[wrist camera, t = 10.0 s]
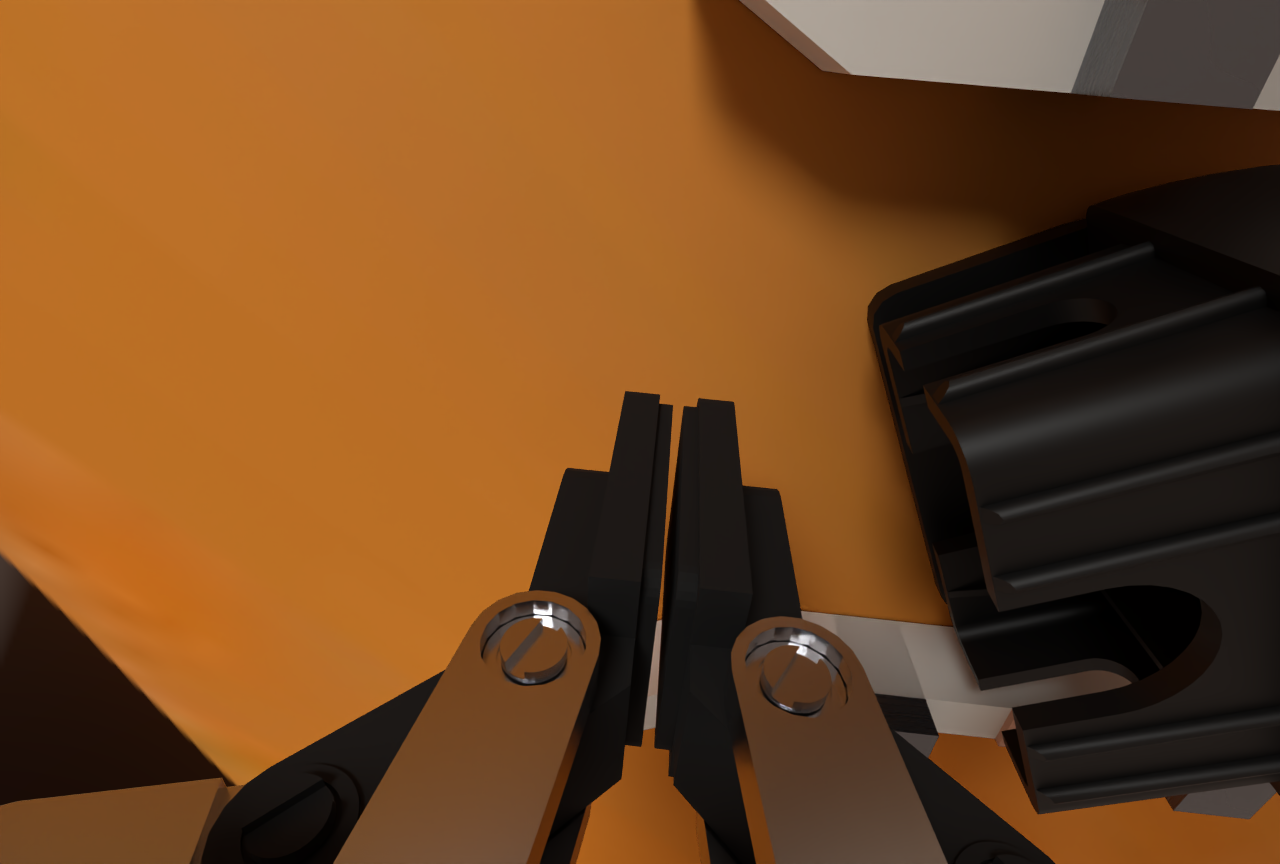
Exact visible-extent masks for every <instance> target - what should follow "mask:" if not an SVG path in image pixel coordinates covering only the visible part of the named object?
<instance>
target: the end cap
mask: <svg viewBox="0 0 1280 864" xmlns="http://www.w3.org/2000/svg"><path fill="white" fill-rule="evenodd" d="M867 320H868V324H869V328H870V332H871V336H872V339H873V343H874V347H875V351H876V355H877V359H878V363H879V367H880V370H881V374H882V378H883V382H884V386H885V390H886V394H887V398H888V401H889V405H890V409H891V413H892V417H893V421H894V425H895V429H896V432H897V436H898V440H899V444H900V448H901V452H902V456H903V460H904V463H905V467H906V471H907V475H908V479H909V483H910V487H911V490H912V494H913V498H914V502H915V506H916V510H917V514H918V518H919V521H920V525H921V529H922V533H923V537H924V541H925V545H926V549H927V552H928V556H929V560H930V564H931V568H932V572H933V576H934V580H935V583H936V586H937V588H938V590H939V592H940V595H941V597H942V598H943V600H944V601H945V603H946V604H947V605H948V609H949V613H950V617H951V620H952V623H953V626H954V629H955V632H956V635H957V638H958V640H959V643H960V645H961V648H962V650H963V652H964V655H965V657H966V659H967V661H968V663H969V666H970V668H971V670H972V672H973V675H974V677H975V679H976V681H977V683H978V686H979V688H980V690H981V691H984V690H989V689H995V688H1000V687H1005V686H1011V685H1016V684H1021V683H1027V682H1032V681H1037V680H1043V679H1048V678H1054V677H1059V676H1064V675H1070V674H1075V673H1080V672H1086V671H1093V670H1101V671H1108V672H1112V673H1115V674H1118V675H1120V676H1122V677H1124V678H1125V679H1127V680H1129V681H1130V682H1131V683H1132V684H1129V685H1126V686H1123V687H1120V688H1115V689H1111V690H1107V691H1102V692H1097V693H1091V694H1085V695H1080V696H1074V697H1068V698H1063V699H1057V700H1052V701H1046V702H1040V703H1035V704H1029V705H1024V706H1018V707H1012V712H1013V717H1014V721H1015V726H1016V729H1011V730H1005V731H1001V732H1002V736H1003V740H1004V744H1005V746H1006V748H1007V750H1008V753H1009V755H1010V757H1011V759H1012V762H1013V764H1014V766H1015V768H1016V770H1017V773H1018V775H1019V777H1020V779H1021V782H1022V784H1023V786H1024V788H1025V791H1026V793H1027V795H1028V797H1029V799H1030V801H1031V803H1032V805H1033V807H1034V809H1035V811H1036V812H1037V814H1045V813H1052V812H1059V811H1066V810H1074V809H1081V808H1088V807H1096V806H1103V805H1110V804H1117V803H1125V802H1132V801H1139V800H1147V799H1154V798H1161V797H1169V796H1176V795H1183V794H1190V793H1198V792H1205V791H1212V790H1220V789H1227V788H1234V787H1241V786H1249V785H1256V784H1263V783H1270V784H1271V785H1272V786H1273V788H1274V789H1275V790H1276V792H1277V793H1278V794H1279V795H1280V164H1279V165H1270V166H1261V167H1253V168H1247V169H1241V170H1234V171H1228V172H1221V173H1215V174H1209V175H1205V176H1200V177H1195V178H1190V179H1185V180H1181V181H1176V182H1171V183H1167V184H1163V185H1159V186H1155V187H1151V188H1147V189H1144V190H1140V191H1136V192H1132V193H1128V194H1125V195H1122V196H1119V197H1116V198H1113V199H1109V200H1106V201H1103V202H1100V203H1097V204H1094V205H1091V206H1089V208H1088V209H1087V213H1086V218H1085V219H1081V220H1078V221H1074V222H1070V223H1066V224H1063V225H1060V226H1057V227H1054V228H1051V229H1048V230H1046V231H1043V232H1040V233H1037V234H1034V235H1031V236H1028V237H1026V238H1023V239H1020V240H1017V241H1014V242H1011V243H1008V244H1005V245H1003V246H1000V247H997V248H994V249H991V250H988V251H985V252H983V253H980V254H977V255H974V256H971V257H968V258H965V259H963V260H960V261H957V262H954V263H951V264H948V265H945V266H943V267H940V268H937V269H934V270H931V271H928V272H925V273H923V274H920V275H917V276H914V277H911V278H908V279H905V280H903V281H900V282H897V283H894V284H891V285H889V286H888V287H886V288H884V289H883V290H881V291H880V292H878V293H876V295H875V296H874V298H873V299H872V301H871V303H870V304H869V306H868V317H867Z"/></svg>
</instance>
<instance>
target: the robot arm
mask: <svg viewBox="0 0 1280 864" xmlns="http://www.w3.org/2000/svg"><path fill="white" fill-rule="evenodd" d="M659 400H660V395H659V394H649V393H639V392H629V391H625V395H624V401H623V406H622V411H621V416H620V421H619V426H618V431H617V436H616V441H615V446H614V451H613V456H612V461H611V466H610V471H609V472H603V471H593V470H583V469H574V468H567V469H566V470H565V473H564V475H563V478H562V482H561V485H560V488H559V492H558V495H557V498H556V502H555V505H554V508H553V512H552V515H551V519H550V522H549V525H548V529H547V532H546V535H545V539H544V542H543V545H542V549H541V552H540V555H539V559H538V562H537V565H536V569H535V572H534V575H533V579H532V582H531V585H530V589H529V591H527V592H520V593H515V594H513V595H510V596H508V597H505V598H502V599H500V600H498V601H496V602H495V603H494V604H492V605H491V606H489V607H488V608H486V609H485V610H484V611H482V613H481V614H480V615H479V616H478V618H477V619H476V620H475V621H474V623H473V624H472V625H471V627H470V628H469V630H468V632H467V634H466V635H465V637H464V639H463V640H462V642H461V644H460V646H459V647H458V649H457V651H456V653H455V654H454V656H453V658H452V659H451V661H450V663H449V665H448V666H447V668H446V670H444V671H442V672H440V673H439V674H437V675H435V676H433V677H431V678H430V679H428V680H426V681H424V682H422V683H421V684H419V685H417V686H415V687H413V688H412V689H410V690H408V691H406V692H404V693H403V694H401V695H399V696H397V697H395V698H394V699H392V700H390V701H388V702H386V703H385V704H383V705H381V706H379V707H377V708H376V709H374V710H372V711H370V712H368V713H367V714H365V715H363V716H361V717H359V718H358V719H356V720H354V721H352V722H350V723H349V724H347V725H345V726H343V727H342V728H340V729H338V730H336V731H334V732H333V733H331V734H329V735H327V736H325V737H324V738H322V739H320V740H318V741H316V742H315V743H313V744H311V745H309V746H307V747H306V748H304V749H302V750H300V751H298V752H297V753H295V754H293V755H291V756H289V757H288V758H286V759H284V760H282V761H280V762H279V763H277V764H275V765H273V766H271V767H270V768H268V769H267V770H265V771H264V772H263V773H261V774H260V775H258V776H257V777H255V778H254V779H253V780H251V781H250V782H248V783H247V784H246V785H240V786H232V787H226V785H225V784H224V781H223V780H222V778H217V779H208V780H200V781H191V782H182V783H173V784H164V785H156V786H147V787H138V788H130V789H121V790H112V791H104V792H95V793H87V794H78V795H70V796H61V797H52V798H43V799H35V800H27V801H18V802H14V803H10V804H6V805H2V806H0V864H576V862H577V859H578V855H579V852H580V848H581V845H582V841H583V838H584V834H585V831H586V827H587V824H588V820H589V817H590V810H591V803H592V802H593V801H594V800H595V799H597V798H598V797H599V796H600V795H602V794H603V793H604V792H606V791H607V790H608V789H609V788H611V787H612V786H613V785H614V784H616V783H617V782H618V781H619V780H621V777H622V768H623V758H624V749H625V745H630V746H639V747H641V745H642V738H643V729H644V721H645V713H646V705H647V697H648V689H649V680H650V672H651V664H652V656H653V648H654V640H655V631H656V623H657V615H658V607H659V598H660V589H661V578H662V565H663V550H664V535H665V520H666V504H667V489H668V474H669V458H670V443H671V427H672V412H673V405H667V404H659ZM654 747H655V748H657V749H666V750H669V775H668V776H671V777H674V786H675V787H676V788H677V789H678V791H679V792H680V793H681V794H682V795H683V796H684V798H685V799H686V800H687V801H688V802H689V803H690V804H691V806H692V807H693V808H694V809H695V810H696V832H697V839H698V846H699V854H700V861H701V864H1055V863H1054V862H1053V861H1052V860H1051V859H1050V858H1049V857H1048V856H1047V855H1046V854H1044V853H1043V852H1042V851H1041V850H1040V849H1038V848H1037V847H1036V846H1035V845H1033V844H1032V843H1031V842H1030V841H1029V840H1027V839H1026V838H1025V837H1024V836H1022V835H1021V834H1020V833H1019V832H1018V831H1016V830H1015V829H1014V828H1013V827H1011V826H1010V825H1009V824H1008V823H1007V822H1005V821H1004V820H1003V819H1002V818H1000V817H999V816H998V815H997V814H996V813H994V812H993V811H992V810H991V809H990V808H988V807H987V806H986V805H985V804H983V803H982V802H981V801H980V800H979V799H977V798H976V797H975V796H974V795H972V794H971V793H970V792H969V791H968V790H966V789H965V788H964V787H963V786H961V785H960V784H959V783H958V782H957V781H955V780H954V779H953V778H952V777H950V776H949V775H948V774H947V773H946V772H944V771H943V770H942V769H941V768H939V767H938V766H937V765H936V764H935V763H933V762H932V761H931V760H930V759H928V758H927V757H926V756H925V755H924V754H922V753H921V752H920V751H919V750H917V749H916V748H915V747H914V746H913V745H911V744H910V743H909V742H908V741H906V740H905V739H904V738H903V737H902V736H900V735H899V734H898V733H897V732H895V731H894V730H893V729H892V728H891V727H889V726H888V724H887V721H886V719H885V717H884V715H883V712H882V710H881V708H880V705H879V703H878V701H877V698H876V696H875V694H874V691H873V689H872V687H871V684H870V682H869V680H868V677H867V675H866V673H865V670H864V668H863V666H862V665H861V663H860V661H859V660H858V658H857V657H856V655H855V653H854V652H853V650H852V649H851V648H850V647H849V646H848V645H846V644H845V643H844V642H843V641H842V640H841V639H840V638H839V637H838V636H837V635H835V634H833V633H832V632H830V631H829V630H827V629H825V628H824V627H822V626H820V625H818V624H815V623H812V622H809V621H806V620H804V619H802V614H801V608H800V602H799V597H798V591H797V585H796V580H795V574H794V569H793V563H792V557H791V552H790V546H789V540H788V535H787V529H786V523H785V518H784V512H783V507H782V501H781V496H780V493H779V491H778V490H777V489H770V488H760V487H750V486H742V477H741V467H740V457H739V447H738V436H737V426H736V416H735V406H734V402H730V401H720V400H710V399H700V398H699V399H698V403H697V407H687V406H684V409H683V416H682V424H681V432H680V440H679V448H678V456H677V464H676V473H675V481H674V489H673V497H672V505H671V513H670V521H669V529H668V538H667V547H666V560H665V576H664V593H663V609H662V626H661V642H660V659H659V675H658V692H657V709H656V725H655V744H654Z"/></svg>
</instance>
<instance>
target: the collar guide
mask: <svg viewBox="0 0 1280 864" xmlns="http://www.w3.org/2000/svg"><path fill="white" fill-rule="evenodd" d="M739 1H741V2H742V3H743V4H744V5H745V6H747V7H748V8H749V9H750V10H751V11H752V12H754V13H755V14H756V15H757V16H758V17H760V18H761V19H762V20H763V21H764V22H765V23H767V24H768V25H769V26H770V27H771V28H772V29H774V30H775V31H776V32H777V33H778V34H780V35H781V36H782V37H783V38H784V39H785V40H787V41H788V42H789V43H790V44H791V45H792V46H794V47H795V48H796V49H797V50H798V51H800V52H801V53H802V54H803V55H804V56H805V57H807V58H808V59H809V60H810V61H811V62H813V63H814V64H815V65H816V66H817V67H818V68H820V69H821V70H822V71H828V72H836V73H843V74H851V75H863V76H874V77H886V78H898V79H910V80H922V81H933V82H945V83H957V84H969V85H981V86H993V87H1004V88H1016V89H1028V90H1040V91H1052V92H1063V93H1074V94H1084V95H1094V96H1103V97H1114V98H1125V99H1137V100H1149V101H1161V102H1173V103H1184V104H1196V105H1208V106H1220V107H1232V108H1243V109H1264V110H1276V111H1280V0H739ZM801 614H802V619H804V620H806V621H809V622H812V623H815V624H818V625H820V626H822V627H824V628H825V629H827V630H829V631H830V632H832V633H833V634H835V635H837V636H838V637H839V638H840V639H841V640H842V641H843V642H844V643H845V644H846V645H848V646H849V647H850V648H851V649H852V650H853V652H854V653H855V655H856V657H857V658H858V660H859V661H860V663H861V665H862V666H863V668H864V670H865V673H866V675H867V677H868V680H869V682H870V684H871V687H872V689H873V691H874V694H875V696H876V698H877V701H878V703H879V705H880V708H881V710H882V712H883V715H884V717H885V719H886V721H887V724H888V726H889V727H891V728H892V729H893V730H894V731H895V732H897V733H898V734H899V735H900V736H902V737H903V738H904V739H905V740H906V741H908V742H909V743H910V744H911V745H913V746H914V747H915V748H916V749H917V750H919V751H920V752H921V753H922V754H924V755H925V756H926V757H927V758H928V757H929V755H930V753H931V751H932V749H933V747H934V745H935V743H936V741H937V739H938V737H939V735H938V732H939V733H948V734H957V735H966V736H975V737H984V738H993V739H995V740H996V742H997V744H998V746H1002V747H1006V746H1005V744H1004V740H1003V736H1002V732H1001V731H1005V730H1011V729H1016V726H1015V721H1014V717H1013V712H1012V707H1018V706H1024V705H1029V704H1035V703H1040V702H1046V701H1052V700H1057V699H1063V698H1068V697H1074V696H1080V695H1085V694H1091V693H1097V692H1102V691H1107V690H1111V689H1115V688H1120V687H1123V686H1126V685H1129V684H1132V683H1131V682H1130V681H1129V680H1127V679H1125V678H1124V677H1122V676H1120V675H1118V674H1115V673H1112V672H1108V671H1101V670H1093V671H1086V672H1080V673H1075V674H1070V675H1064V676H1059V677H1054V678H1048V679H1043V680H1037V681H1032V682H1027V683H1021V684H1016V685H1011V686H1005V687H1000V688H995V689H989V690H984V691H981V690H980V688H979V686H978V683H977V681H976V679H975V677H974V675H973V672H972V670H971V668H970V666H969V663H968V661H967V659H966V657H965V655H964V652H963V650H962V648H961V645H960V643H959V640H958V638H957V635H956V632H955V629H954V627H947V626H937V625H928V624H919V623H909V622H900V621H890V620H881V619H872V618H862V617H853V616H844V615H834V614H825V613H816V612H806V611H801ZM661 626H662V620H659V621H657V623H656V631H655V640H654V648H653V656H652V664H651V672H650V680H649V689H648V697H647V705H646V713H645V721H644V729H643V730H647V729H651V728H655V725H656V709H657V692H658V675H659V659H660V642H661ZM1275 793H1276V790H1275V789H1274V788H1273V786H1272V785H1271V784H1270V783H1263V784H1256V785H1249V786H1241V787H1234V788H1227V789H1220V790H1212V791H1205V792H1198V793H1190V794H1183V795H1176V796H1169V797H1165V798H1166V800H1167V801H1168V803H1169V804H1170V806H1171V808H1172V809H1173V811H1181V812H1190V813H1199V814H1208V815H1216V816H1225V817H1234V818H1243V819H1250V818H1251V817H1252V816H1253V815H1254V814H1255V813H1256V812H1257V811H1258V810H1259V809H1260V808H1261V807H1262V806H1263V805H1264V804H1265V803H1266V802H1267V801H1268V800H1269V799H1270V798H1271V797H1272V796H1273V795H1274V794H1275Z"/></svg>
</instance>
